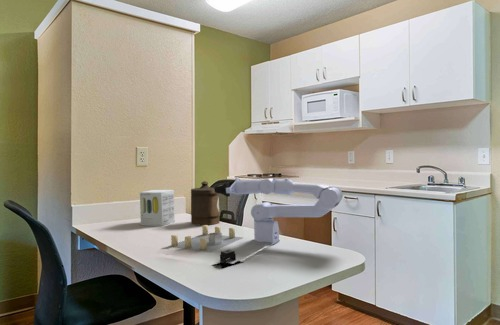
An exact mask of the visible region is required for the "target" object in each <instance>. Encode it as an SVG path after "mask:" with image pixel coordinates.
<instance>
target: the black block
mask: <svg viewBox="0 0 500 325" xmlns="http://www.w3.org/2000/svg"><path fill="white" fill-rule="evenodd" d="M235 252H236V251H235V250H232V249H226V250H222V251H220V254H219V261H220V262H217V263H213V264H211V265H210V266H212V267H215V268H218V269H219V270H220V269H221V270H224V269H225V268H230V267H233V266H237V265H240V264H242V263H243V264H244V263H245V262H244V261H242V260H237V259H236V258H237V257H236V253H235ZM228 259H230V260H233V261H236V260H237V261H236V262H234V263H231V262H227V260H228Z"/></svg>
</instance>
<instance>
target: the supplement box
mask: <svg viewBox="0 0 500 325" xmlns="http://www.w3.org/2000/svg"><path fill="white" fill-rule="evenodd" d="M139 205H140V207H139V208H140V209H139V210H140V211H139V212H140V226H148V227H150V226H152V227H164V226H167V225H169V224H172V223H174V222H176V220H175V191H174V189H152V190H150V189H149V190H144V191H140V192H139Z"/></svg>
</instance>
